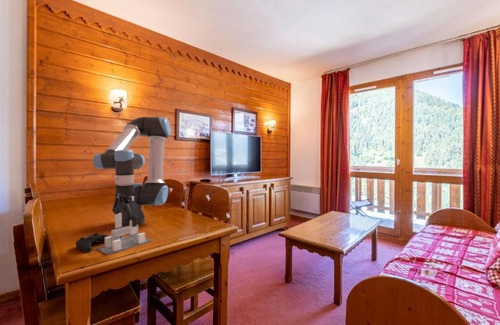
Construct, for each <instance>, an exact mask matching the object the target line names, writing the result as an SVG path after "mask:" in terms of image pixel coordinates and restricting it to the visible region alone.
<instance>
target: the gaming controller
mask: <svg viewBox="0 0 500 325" xmlns="http://www.w3.org/2000/svg"><path fill="white" fill-rule="evenodd" d="M109 236H110V235H109V234H103V233H102V234H100V233H98V232H95V233H92V234H90V235H88V236H85V237H79V239H77V240H76V241H75V246H76V249H77V250H81V251H83V252H84V253H90V252H92V242H93V244H95V243H97V242H100V243H105V237H109ZM94 242H95V243H94Z"/></svg>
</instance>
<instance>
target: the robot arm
mask: <svg viewBox="0 0 500 325" xmlns="http://www.w3.org/2000/svg"><path fill="white" fill-rule="evenodd" d="M171 134H172V128H171V123H170V120H169V119H168V118H167V117H164V116H163V117H161V116H140V117H136V118H134V119H133V120H131V121H129V122H128V123H127V124H126V125H124V127H123V130H122V131H121V133H119V135H118V136H117V138H116V139H115V140H114V141H113V142H112V144H110V146H109V147H107V149H106V150H105V151H104V152H103V153H102V152H100V153H96V154H94V156H93V157H92V164H93V167H94V168H96V169H99V170H100V169H101V170H114V176H115V177H114V180H115V194H114V201H113V206H112V210H111V212H112V213H113V214H114V227H115V229H120V228H123V227H128V226H130V234H135V233H137V225H141V224H143V223H145V222H146V217H145V213H144V211H143V206H161V205H164V204H165V203H166V201H167V199H168V196H169V187H168V185H166V182H165V181H164V165H165V164H164V159H165V142H166V141H167V140H168V137H170V136H171ZM143 136H144V137H145V136H147V137H146V139H147V140H149V146H148V147H149V149H148V165H147V166H148V167H147V168H148V170H147V180H145V182H144V185H143V184H142V183H141V182H136V183H135V170H139V169H141V168H143V167H144V166H145V164H146V159H145V157H144V155H143V154H140V153H134V151H133V150H132V149H129V148H130V146H131V145H132V144H133V143H134V141H135V140H137V139H138V138H140V137H143Z"/></svg>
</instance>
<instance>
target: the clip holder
mask: <svg viewBox="0 0 500 325" xmlns="http://www.w3.org/2000/svg"><path fill="white" fill-rule="evenodd" d="M152 241H153V240H152V239H150V238H147V237H146V232H141V233H138V234H137V241H135V242H133V243H129V244H126V245H123V246H121V240H120V239H118V240H114V241H112V247H111V235H109V237H105V242H104V246H103V245H102V246H100V247H97V248H96V250H97V251H99V252H100V253H102V254H104V255H106V256H109V255H113V254H116V253H119V252H122V251H125V250H129V249H131V248H134V247H138V246H141V245H143V244H144V245H145V244H147V243H150V242H152Z"/></svg>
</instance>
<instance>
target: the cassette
mask: <svg viewBox="0 0 500 325" xmlns="http://www.w3.org/2000/svg"><path fill="white" fill-rule="evenodd" d="M126 234H127V235H126ZM137 234H139V224H137V233H135V234H130V226H123V227H119V228H115V229H112V230H111V231H110V236H111V247H112V241H114V240H118V239H120V240H121V246H123V245H126V244H129V243H133V242H135V241H137Z"/></svg>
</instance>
